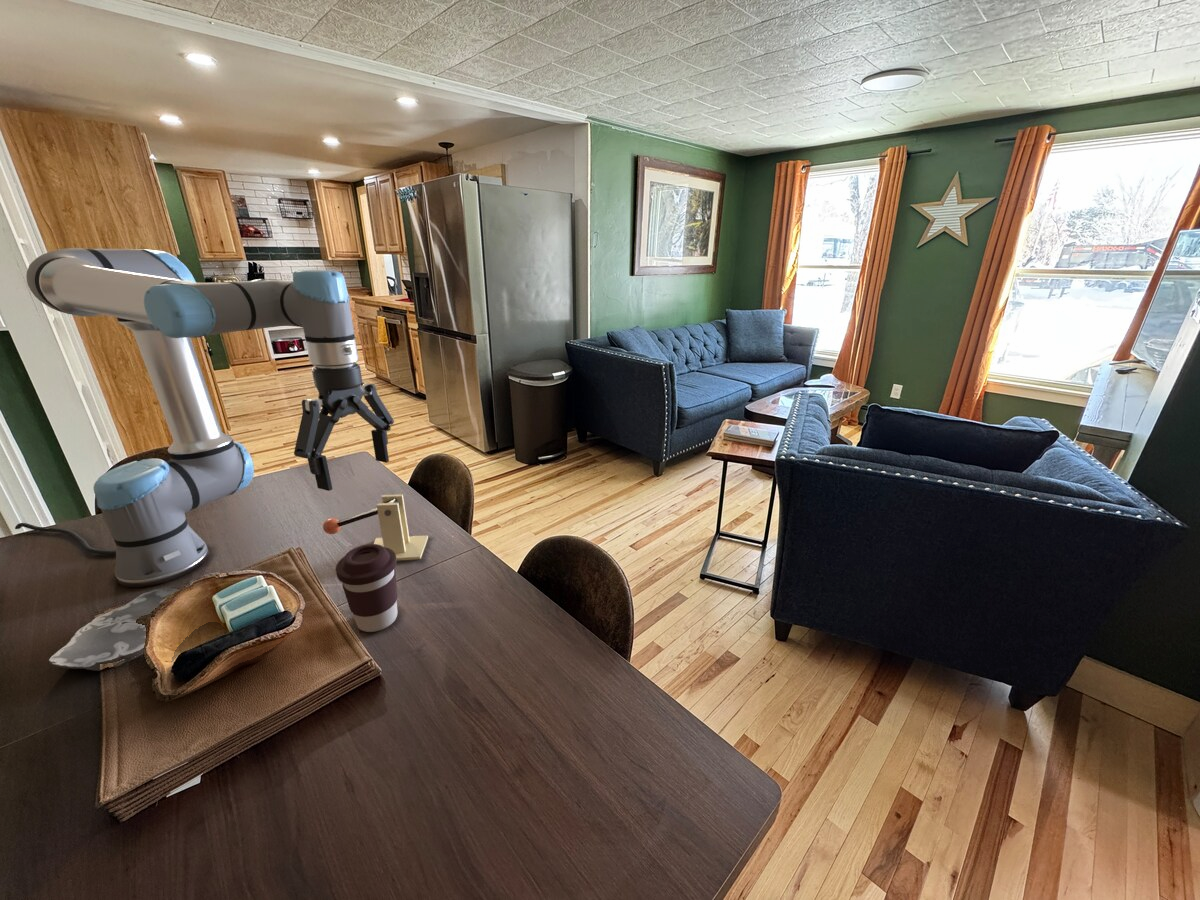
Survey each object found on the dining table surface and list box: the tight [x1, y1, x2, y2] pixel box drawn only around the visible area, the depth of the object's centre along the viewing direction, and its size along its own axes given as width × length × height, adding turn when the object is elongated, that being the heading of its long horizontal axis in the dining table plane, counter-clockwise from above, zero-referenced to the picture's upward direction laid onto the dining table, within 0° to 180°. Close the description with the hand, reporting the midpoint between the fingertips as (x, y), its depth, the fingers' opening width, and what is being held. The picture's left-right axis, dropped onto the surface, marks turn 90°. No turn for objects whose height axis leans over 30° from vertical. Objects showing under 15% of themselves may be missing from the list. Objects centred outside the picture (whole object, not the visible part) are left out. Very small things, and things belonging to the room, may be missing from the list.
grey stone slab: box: [48, 587, 181, 672], centre depth 85 cm, size 20×17×3 cm
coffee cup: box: [335, 543, 398, 633], centre depth 88 cm, size 10×10×15 cm
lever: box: [322, 498, 400, 535], centre depth 107 cm, size 17×4×4 cm, turn 98°
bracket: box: [373, 493, 429, 561], centre depth 109 cm, size 12×9×14 cm
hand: (355, 474), depth 91 cm, fingers open, 13 cm apart
